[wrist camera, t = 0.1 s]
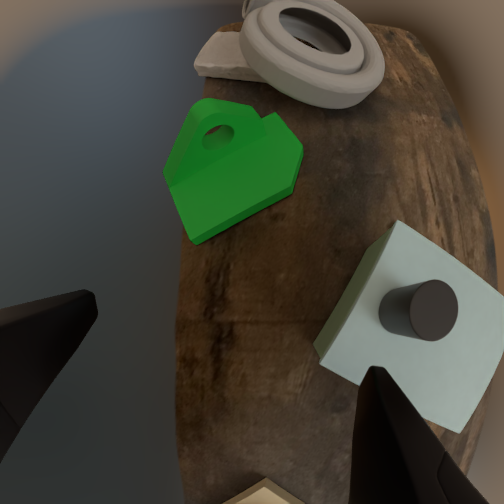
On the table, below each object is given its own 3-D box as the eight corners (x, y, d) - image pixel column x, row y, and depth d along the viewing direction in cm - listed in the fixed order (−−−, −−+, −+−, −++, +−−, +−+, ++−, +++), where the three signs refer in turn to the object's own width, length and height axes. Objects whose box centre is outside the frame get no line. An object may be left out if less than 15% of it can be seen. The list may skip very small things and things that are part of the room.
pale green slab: (455, 431, 12) (493, 457, 7) (318, 362, 15) (329, 385, 10) (514, 310, 13) (560, 305, 8) (394, 222, 16) (428, 189, 11)
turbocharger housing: (414, 101, 20) (258, 60, 16) (375, 129, 26) (238, 110, 22) (362, 1, 21) (242, -31, 17) (339, 31, 28) (229, 8, 24)
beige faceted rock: (211, 90, 32) (181, 70, 27) (225, 53, 31) (198, 31, 26) (278, 87, 27) (251, 59, 22) (291, 47, 26) (268, 17, 21)
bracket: (196, 245, 24) (158, 215, 17) (168, 179, 26) (133, 139, 20) (320, 178, 23) (323, 128, 17) (277, 121, 26) (267, 69, 19)
